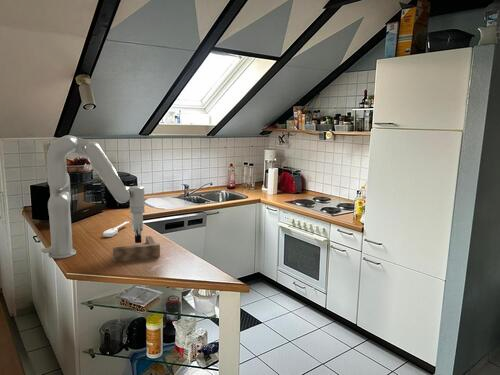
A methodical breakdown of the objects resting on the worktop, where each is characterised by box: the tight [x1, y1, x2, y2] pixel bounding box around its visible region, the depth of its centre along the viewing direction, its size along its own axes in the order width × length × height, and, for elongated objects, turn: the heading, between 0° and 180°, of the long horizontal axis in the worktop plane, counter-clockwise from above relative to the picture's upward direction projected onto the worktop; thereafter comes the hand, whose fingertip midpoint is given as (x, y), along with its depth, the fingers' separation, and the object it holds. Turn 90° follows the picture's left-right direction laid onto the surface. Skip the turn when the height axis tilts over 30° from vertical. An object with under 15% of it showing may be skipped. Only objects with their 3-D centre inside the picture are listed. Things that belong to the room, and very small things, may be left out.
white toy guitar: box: [102, 221, 130, 238], centre depth 236 cm, size 28×6×3 cm, turn 171°
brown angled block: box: [112, 235, 161, 263], centre depth 201 cm, size 22×26×6 cm
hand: (138, 242), depth 208 cm, fingers closed
